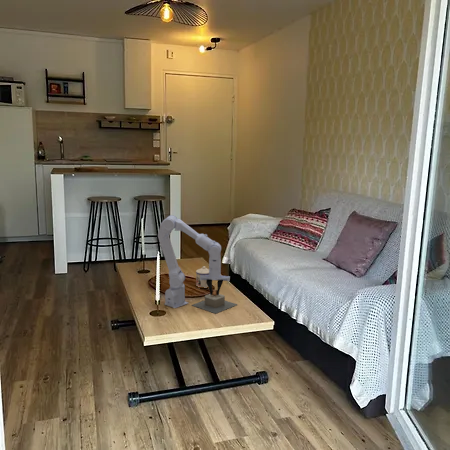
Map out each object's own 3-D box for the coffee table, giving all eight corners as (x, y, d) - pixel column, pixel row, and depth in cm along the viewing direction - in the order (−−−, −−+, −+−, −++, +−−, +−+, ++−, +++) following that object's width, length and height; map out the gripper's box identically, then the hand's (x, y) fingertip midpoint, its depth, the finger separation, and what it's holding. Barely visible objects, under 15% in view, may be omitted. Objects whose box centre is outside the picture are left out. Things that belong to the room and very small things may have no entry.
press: (215, 313, 213) (215, 303, 213) (191, 305, 224) (191, 296, 223) (237, 305, 225) (237, 295, 224) (213, 297, 236) (213, 288, 235)
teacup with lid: (193, 285, 256) (193, 265, 254) (209, 283, 259) (209, 263, 257) (199, 291, 245) (199, 270, 243) (215, 290, 248) (215, 269, 246)
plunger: (214, 304, 221) (215, 292, 220) (207, 302, 224) (207, 290, 223) (221, 301, 224) (221, 290, 223) (214, 299, 228) (214, 288, 227)
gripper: (198, 269, 218) (198, 296, 220) (229, 270, 217) (228, 297, 219) (201, 265, 225) (200, 291, 227) (230, 266, 223) (229, 292, 226)
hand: (214, 294), depth 224 cm, fingers closed on plunger, 3 cm apart
